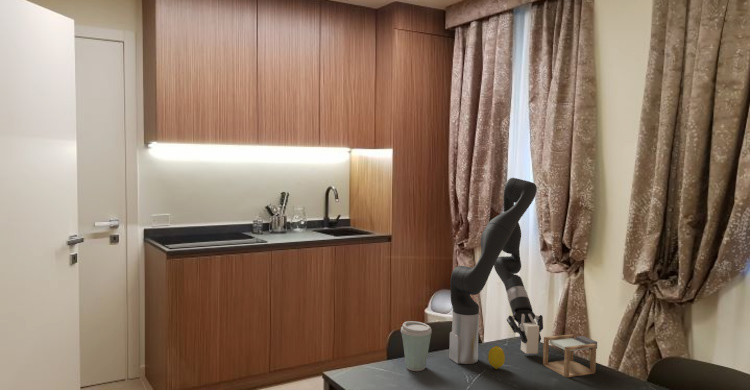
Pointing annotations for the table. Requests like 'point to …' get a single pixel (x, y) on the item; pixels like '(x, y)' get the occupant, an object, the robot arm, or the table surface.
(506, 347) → the table surface
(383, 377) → the table surface
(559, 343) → the door
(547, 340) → the frame
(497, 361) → the lemon
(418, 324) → the disposable coffee cup
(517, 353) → the table surface
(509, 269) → the robot arm
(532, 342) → the block
